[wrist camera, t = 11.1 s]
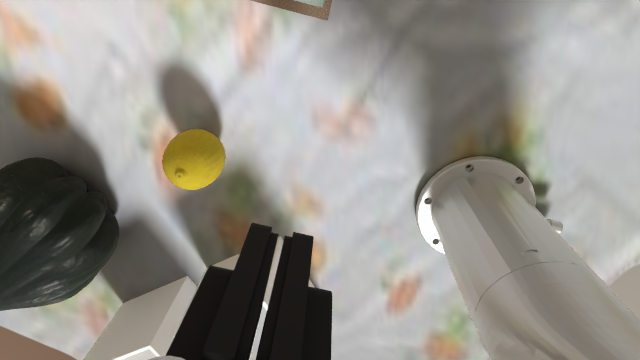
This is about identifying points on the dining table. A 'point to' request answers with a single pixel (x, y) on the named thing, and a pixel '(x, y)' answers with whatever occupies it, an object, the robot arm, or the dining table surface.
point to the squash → (49, 234)
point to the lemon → (193, 159)
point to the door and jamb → (302, 6)
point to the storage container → (159, 317)
